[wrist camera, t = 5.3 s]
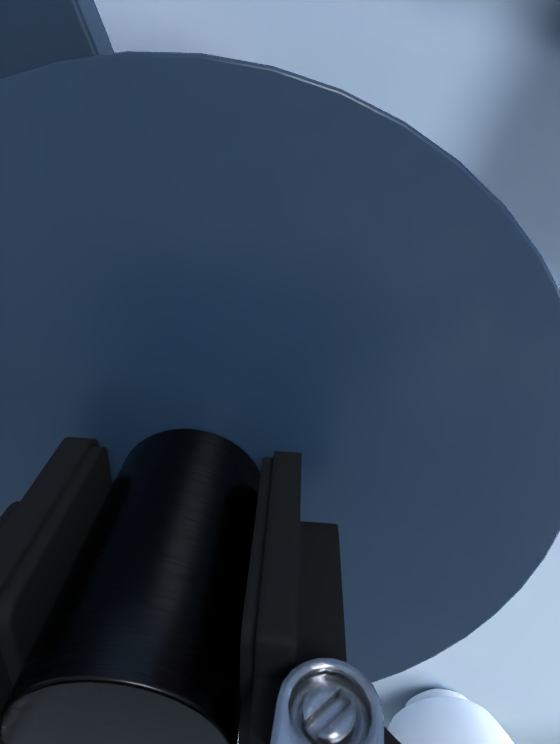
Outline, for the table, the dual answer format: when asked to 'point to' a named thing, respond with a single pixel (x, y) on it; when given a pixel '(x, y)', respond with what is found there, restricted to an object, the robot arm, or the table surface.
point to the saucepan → (48, 33)
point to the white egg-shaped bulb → (445, 721)
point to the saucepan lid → (259, 376)
